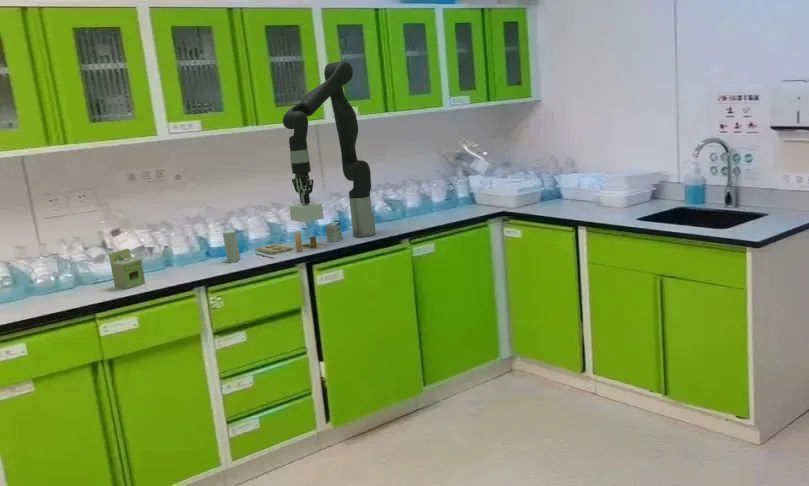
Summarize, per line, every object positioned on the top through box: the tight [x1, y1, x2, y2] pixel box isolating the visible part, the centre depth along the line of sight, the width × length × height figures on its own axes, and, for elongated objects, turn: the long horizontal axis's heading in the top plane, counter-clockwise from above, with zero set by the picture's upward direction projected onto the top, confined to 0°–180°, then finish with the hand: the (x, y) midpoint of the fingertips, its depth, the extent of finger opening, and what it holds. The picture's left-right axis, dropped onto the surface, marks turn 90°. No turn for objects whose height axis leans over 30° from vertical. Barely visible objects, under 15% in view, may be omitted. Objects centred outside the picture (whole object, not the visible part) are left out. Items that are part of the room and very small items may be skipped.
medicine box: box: [325, 221, 343, 243], centre depth 322 cm, size 8×4×9 cm, turn 168°
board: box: [293, 236, 328, 251], centre depth 314 cm, size 10×12×6 cm
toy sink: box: [108, 248, 146, 290], centre depth 277 cm, size 8×7×13 cm
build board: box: [254, 243, 294, 259], centre depth 312 cm, size 10×14×2 cm
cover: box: [288, 193, 324, 223], centre depth 311 cm, size 9×11×11 cm
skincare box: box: [222, 229, 241, 263], centre depth 305 cm, size 6×4×12 cm
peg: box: [294, 232, 304, 253], centre depth 305 cm, size 2×2×9 cm
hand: (305, 203), depth 311 cm, fingers closed on cover, 2 cm apart
